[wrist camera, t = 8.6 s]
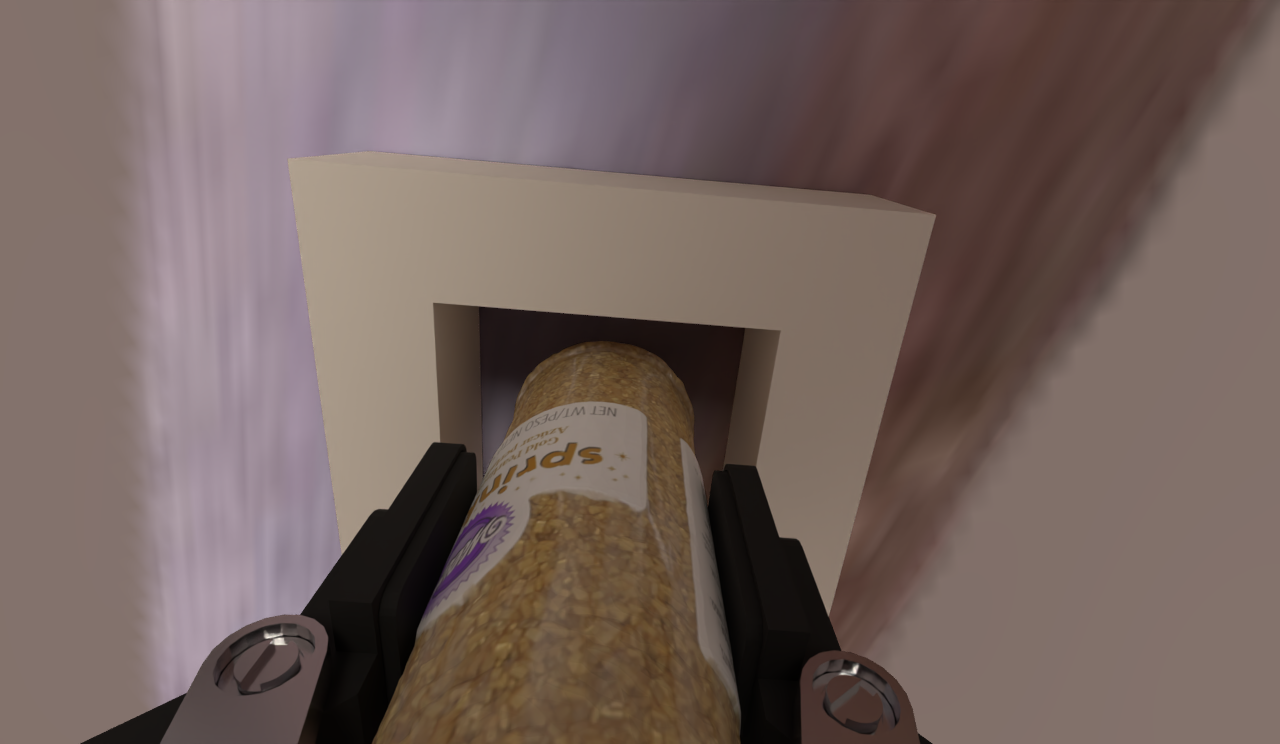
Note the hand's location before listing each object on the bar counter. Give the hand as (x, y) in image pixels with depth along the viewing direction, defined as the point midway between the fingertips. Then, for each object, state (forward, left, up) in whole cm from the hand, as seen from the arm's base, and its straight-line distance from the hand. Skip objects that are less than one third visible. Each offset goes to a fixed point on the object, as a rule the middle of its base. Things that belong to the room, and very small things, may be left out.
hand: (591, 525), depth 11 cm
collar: (0, 0, -6) cm, 6 cm away
